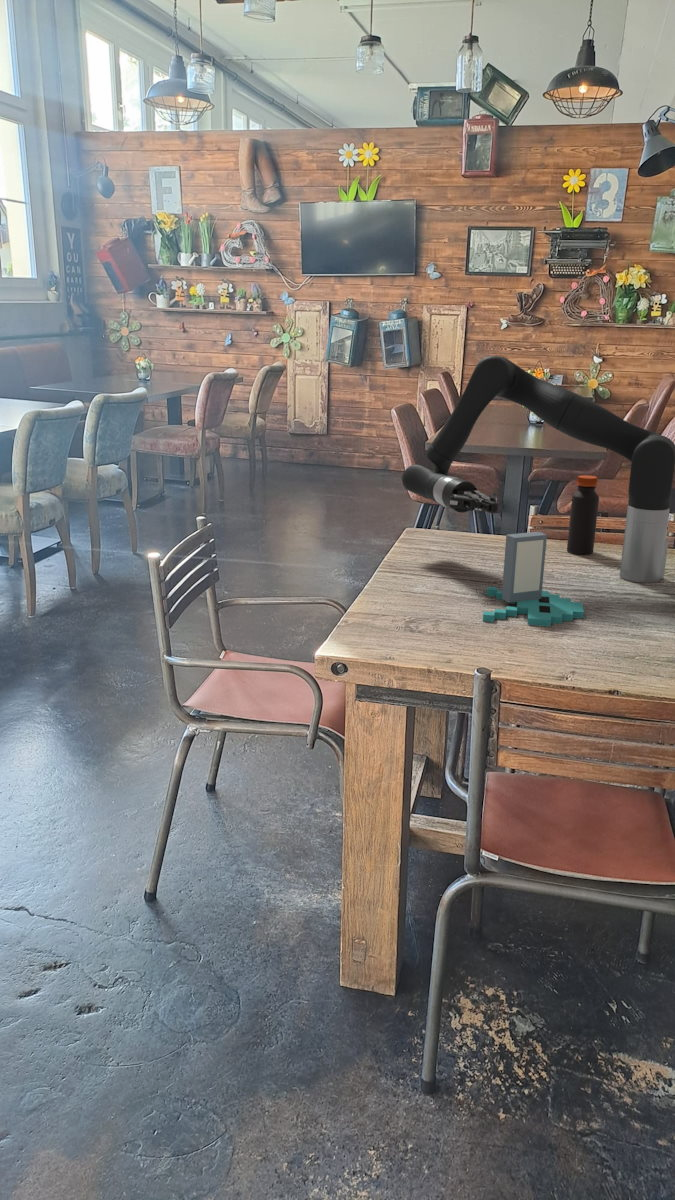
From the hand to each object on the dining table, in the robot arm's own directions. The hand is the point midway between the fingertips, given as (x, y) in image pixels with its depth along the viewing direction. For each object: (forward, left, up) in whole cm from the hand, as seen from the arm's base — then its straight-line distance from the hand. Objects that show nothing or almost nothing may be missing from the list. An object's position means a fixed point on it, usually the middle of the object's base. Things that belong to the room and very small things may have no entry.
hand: (494, 508), depth 189 cm
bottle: (-40, -19, -18) cm, 48 cm away
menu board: (+1, +13, -17) cm, 22 cm away
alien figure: (0, +17, -19) cm, 26 cm away
